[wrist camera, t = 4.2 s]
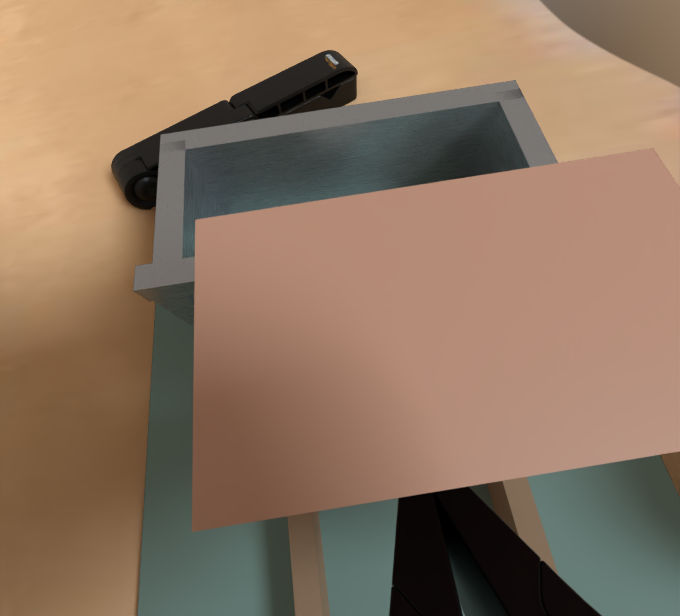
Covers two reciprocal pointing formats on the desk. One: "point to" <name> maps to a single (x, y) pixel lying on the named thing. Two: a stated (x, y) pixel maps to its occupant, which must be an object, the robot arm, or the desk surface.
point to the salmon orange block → (435, 337)
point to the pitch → (385, 529)
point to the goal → (326, 165)
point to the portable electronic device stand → (243, 116)
